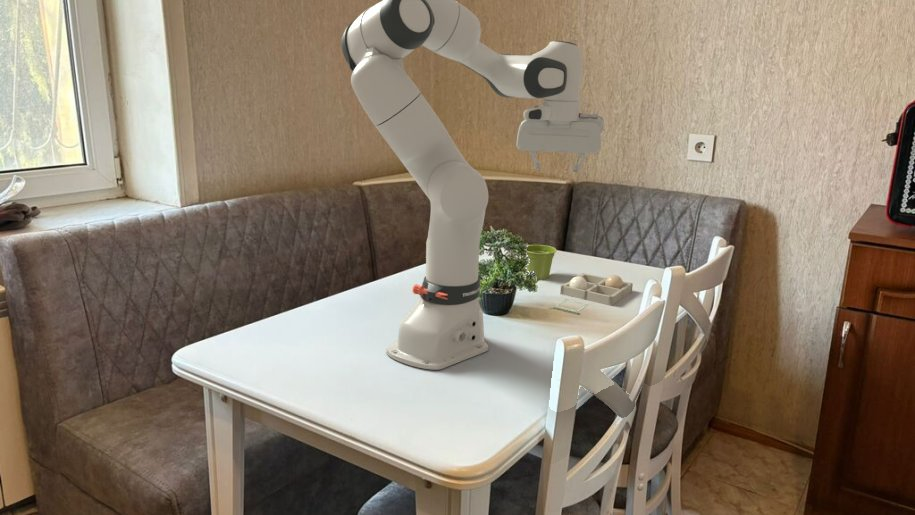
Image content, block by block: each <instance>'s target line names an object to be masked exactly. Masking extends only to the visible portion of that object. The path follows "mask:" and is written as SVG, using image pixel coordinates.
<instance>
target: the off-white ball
mask: <svg viewBox="0 0 915 515" xmlns="http://www.w3.org/2000/svg"><path fill="white" fill-rule="evenodd" d="M569 281H570V283H569V287H573V288H577V289H582V290H586V289H587V282H586V280H585V279H584V278H583V277H580V275H578V276H577V275H576V276H574V277H572V278H571V279H570V280H569Z"/></svg>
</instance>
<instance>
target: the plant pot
mask: <svg viewBox="0 0 915 515" xmlns="http://www.w3.org/2000/svg"><path fill="white" fill-rule="evenodd" d="M526 246H528V247H527V255H528V257H529V258H530V263H529V265H528V267H527V270H528V271H529V272H530V271H534V272H536V276H537V281H536V282H540V281H541V280H547V279H549V278H550V275H551V274H550V273H551V269H552V264H553V259H554V258H555V257H554V256H555V254H556V253H557V248H556V247H554V246H550V245H547V244H545V245H544V244H528V245H526Z"/></svg>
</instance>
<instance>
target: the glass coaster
mask: <svg viewBox="0 0 915 515" xmlns="http://www.w3.org/2000/svg"><path fill="white" fill-rule="evenodd" d="M567 301H568V302H571V303H576V304H581V305H583V306H582V307H580V308H578V309H572V308H567V307H563V306H560V305H562V304H563V303H565V302H567ZM588 306H589V304H588V303H583V302H579V301H574V300H570V299H565V298H564V299H563V300H561V301H560V302H558V303H556V304H554V307H553V309H554V310H556V311H561V312H564V313H568V314H572V315H577V316H578V315H579V314H580V311H582V310H583V309H585V308H586V307H588Z"/></svg>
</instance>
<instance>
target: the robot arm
mask: <svg viewBox="0 0 915 515" xmlns="http://www.w3.org/2000/svg"><path fill="white" fill-rule="evenodd" d="M481 34H482V28H481V22H480V19H479V18H478V17H477V16H476V15H475V13H473V12H472V11H471V10H470V9H468V8H467V7H466V6H465V5H463V4H462V3H460V2H458V1H457V0H381V1H379V2H377V3H375V4H374V5H371V6H370V7H368V8H367V9H365V10H364V11H363V12H362V13H360V15H358V16H357V18H356V19H355V20H353V21H351V22H350V23H349V25H348V26H347V27H346V28H345V30H344V32H343V34H342V36H341V40H340V44H341V45H340V46H341V50H342V54H343V57H344V59H345V61H346V63H347V64H348V65H349V66H348V68H349V69H350V70H351V71H352V72H351V77H350V84H351V85H350V86H351V87H352V90H353V92H354V94H355V96H356V98H357V100H358V102H359V103H360V105H361V107H362V109H363V110H364V112H365V114H366V115H367V117H368V118H369V120H370V121H371V122H372V124H373V125H374V127H375V128H376V130H378V132H379V133H380V135H381V136H382V138H383V139H384V140H385V141H386V143H387V144H388V146H389V147H390V148H391V150H392V151H393V153H394V154H395V155H396V156H397V158H398V159H399V161H400V163H402V165H403V166H404V167H405V169H406V170H407V171H408V172H409V174H410V176H411V177H412V178H413V180H414V181H415V183H417V185H418V186H419V187H420V189H421V191H423V193H424V194H425V196H426V197H427V198H428V199H429V202H430V216H429V224H428V225H429V226H428V231H427V239H426V242H425V244H426V246H425V247H426V248H425V275H424V278H423V282H422V284H421V285H420V284H414V285H413V287H412V290H411V291H412V293H413V294H414V295H419V299H418V300H417V302H416V303H415V304H414V306H413V307H412V308H411V309H410V311H409V313H407V315H406V317H404V319H403V320H402V321H401V323H400V325H399V330H398V335H397V336H398V337H397V339H396V340H395V341H394V342H393V343H392V344H389V346H388V347H387V348H386V349H385V350H386V351H385V353H386V354H387V355H388V357H389V358H391V359H394V360H395V361H397V362H400V363H402V364H405V365H408V366H411V367H415V368H420V369H423V370H424V369H425V370H436V371H437V370H439V371H440V370H442V369H445V368H447V367H450V366H452V365H455V364H457V363H460V362H463V361H465V360H468V359H470V358H473V357H475V356H478V355H481V354H483V353H485V352H488V351H489V344H488V343H487V342H486V341H485V330H484V328H485V327H484V313H483V309H482V307H481V305H480V301H479V297H480V295H481V279H480V277H479V267H480V265H479V262H480V261H479V260H480V259H479V258H480V244H481V243H480V242H481V236H482V232H483V227H484V222H485V221H484V220H485V217H486V216H485V215H486V209H487V206H488V205H489V204H488V203H489V190H488V185H487V183H486V180H485V178H484V177H483V175H482V174H481V173H480V172H479V171H478V170H476V169H475V168H474V167H472V166H471V164H469V162H468V161H467V160H466V159H465V157H464V155H463V153H462V152H461V151H460V149H459V148H458V146H457V145H456V143H455V142H454V140H453V139H452V137H451V135H450V134H449V132H448V130H447V129H446V126H445V125H444V124H443V122H442V120H441V119H440V117H439V116H438V114H437V113H436V112H435V111H434V109H433V107H432V106H431V105H430V103H429V102H428V100H427V99H426V98H425V96H424V95H423V94H422V92H421V90H420V89H419V88H418V86H417V85H416V84H415V82H414V81H413V80H412V79H411V77H410V76H409V75H408V74H407V72H406V70H405V66H404V61H403V59H404V58H405V57H407V56H408V55H409V54H411V53H412V52H413V51H414V50H416V49H418V48H420V47H421V46H422V47H424V48H426V49H428V50H429V51H431V52H433V53H434V54H437V55H439V56H441V57H444V58H446V59H449V60H452V61H454V62H458V63H460V64H461V65H463V66H464V67H466V68H467V69H469V70H471V71H473V72H474V73H476V74H478V76H480V77H482V78H483V79H484V80H485V81H486V82H487V84H488V85H489V87H490V88H491V89H492V90H493V91H494V93H496V95H498V96H499V97H502V98H519V99H520V98H521V99H530V100H532V99H533V100H541V99H542V104H541V105H536V106H534V107H530V108H526V109H524V110H523V115H522V116H523V120H522V121H521V123H520V124H519V126H518V132H517V135H516V136H517V138H516V146H515V147H516V148H517V149H518V151H528V152H529V151H530V157H531V159H532V162H533V163H534V166H533V169H534V170H536V171H537V170H538V171H539V170H540V171H541V165H542V161H538V160H537V158H536V156H537V153H538V152H549V153H550V152H551V153H553V152H555V153H569V154H570V153H571V154H572V153H574V154H575V153H576V154H578V155H579V156H578V157H579V160H578V162H577V163H573V168H572V169H573V172H576V173H578V172H580V171H581V170H580V169H581V166H580V165H581V164H582V163H583V162H584V160H585V159H586V154H594V155H596V154H598V153H599V152H601V150H602V132H603V131H604V128H605V120H604V118H603V117H602V116H601V115H599V114H598V113H584V112H583V113H580V110H581V108H580V107H581V106H580V105H581V96H580V89H581V85H582V81H583V54H582V49H581V47H580V46H579V45H578V44H576V43H574V42H571V41H563V40H552V41H550V42H548V45H547V46H546V47H544V48H543V49H541V50H539V51H538V52H536V53H533V54H532V55H531V54H530V55H524V54H523V55H520V54H518V55H517V54H509V53H505V54H503V53H498V52H496V51H495V50H493V49H491V48H490V47H489V46H487V45H486V44H484V43H482V42H481V41H480V38H481Z"/></svg>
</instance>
